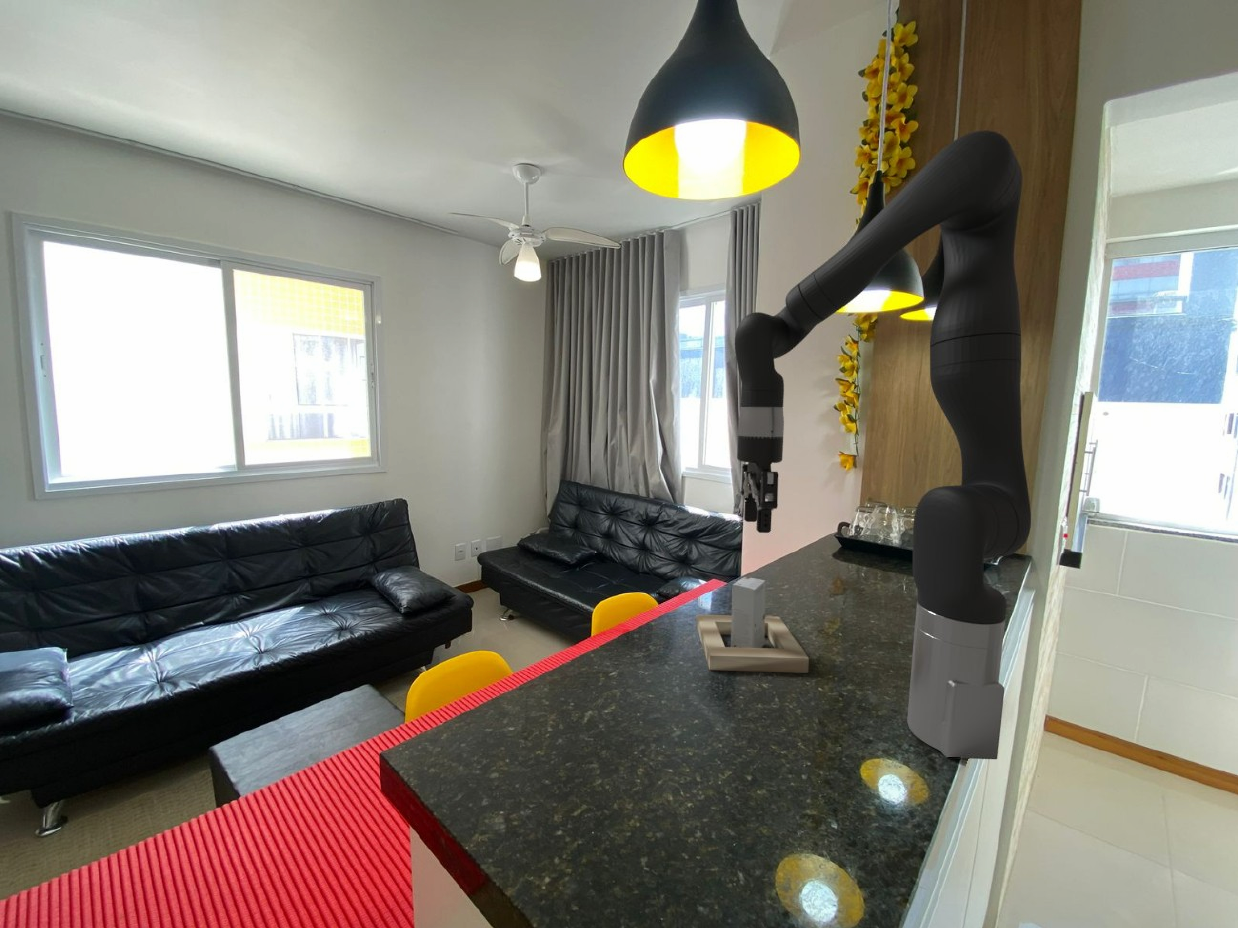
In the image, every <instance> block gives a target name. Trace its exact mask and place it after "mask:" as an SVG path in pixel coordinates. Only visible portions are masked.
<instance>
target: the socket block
mask: <svg viewBox="0 0 1238 928" xmlns="http://www.w3.org/2000/svg"><path fill="white" fill-rule="evenodd" d="M731 625H732V614H731V615H730V614H729V615H728V614H727V615H726V614H725V615H724V614H696V629H697V632H698V633H697V634H698V636H699V639H700V644H701V646H702V650H703V653H704V655H705V659H706V662H707V666H708V669H709V671H732V672H733V671H734V672H735V671H736V672H764V673H765V672H768V673H772V672H773V673H799V674H801V673H804V674H806V673H807V674H808V673H809V661H810V657H808V655H807V654H806V652H805V651H804V649H803V648H802V647H801V645H800V644H799V642H798V641H797V640H796V638H795V636H793V635H792V633H791V631H790V630H789V629H788V627H787V626H786V625H785V623H784V622H783V620H782V619H781V618H780V617H779V616H770V615H769V616H768V615H767V616H766V615H765V632H764V636H767V638H768V640H769V641H770V643H771V645H773V647H769V648H768V647H762V648H740V647H731V646H730V647H729V646H725V644H724V641H723V638H722V636H721V635H730V636H731Z"/></svg>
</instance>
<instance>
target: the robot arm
mask: <svg viewBox="0 0 1238 928" xmlns="http://www.w3.org/2000/svg"><path fill="white" fill-rule="evenodd" d="M1022 188H1023V173H1022V169H1021V166H1020V163H1019V161H1018V158H1017V157H1016V154H1015V151H1014V149H1013V147H1012V145H1011V143H1010V142H1009V140H1008V139H1007V138H1006V137H1005V136H1004V135H1002V134H1001V133H999V132H997V131H992V130H976V131H973V132H968V133H966V134H965V135H961V136H960V137H957V138H956V139H955V140H953V141H952V142H950V143H949V144H948V145H947V146H945V147H944V148H942V149H941V150H940V151H939V152H938V153H937V154H936V155H935V156H934V157H933V158H931V160H929V162H928V163H926V164H925V165H924V166H923V167H922V168H921V170H919V171H918V172H917V174H915V176H914V177H913V178H912V179H911V180H910V181H909V182H908V183H906V185H905V186H904V187H903V188H902V189H901V190H900V191H899V192H898V194H896V196H894V197H893V199H891V200H890V201H889V202H888V203H887V204H886V206H884V207H883V208H882V209H881V210H880V212H878V213H877V214H876V215H875V216H874V217H873V218H872V219H871V221H869V222H868V223H867V224H866V225H865V226H864V227H863V228H862V229H861V230H860V231H859V232H858V233H857V234H856V235H855V236H854V237H853V238H852V239H850V241H849V242H847V243H846V244H844V246H843V247H842V248H841V249H839V250H838V251H837V252H836V253H835V254H834V255H832V256H831V257H829V259H828V260H827V261H825V262H824V263H822V264H821V265H820V266H818V267H817V268H816V269H814V271H812V272H811V273H810V274H809V275H807V276H806V277H805V278H804V279H802V280H801V281H800V282H799V283H798V284H796V285H795V286H794V287H792V288H791V289H790V290H789V291H788V293H787V295H786V297H785V306H784V307H783V308H782V309H781V310H780V311H779V312H778V313H777V314H775V315H771V314H767V313H765V312H759V311H757V312H756V311H755V312H751V313H749V314H747V315H745V316H744V317H743V318H742V319H741V321H740V322H739V324H738V326H737V328H736V331H735V336H734V353H735V357H736V358H735V359H736V362H737V368H738V373H739V378H740V383H741V390H740V393H741V394H740V409H739V414H738V415H739V416H738V424H737V425H738V426H737V427H738V428H737V452H736V454H737V455H736V459H737V460H738V461H739V462H743V463H744V464H742V467H741V469H742V471H741V486H740V487H741V488H740V489H741V490H740V495H741V496H742V498H743V501H744V508H743V509H744V513H743V520H744V521H745V522H749V523H751V522H752V523H755V522H756V532H758V533H759V534H768V533H770V532H771V531H772V516H773V515H772V513H773V511H774V510H776V509H778V505H779V504H778V501H779V500H778V499H779V498H778V496H779V473H778V471H772V464H779V463H781V462H782V461H783V449H784V434H785V433H784V432H785V431H784V430H785V428H784V427H785V425H784V424H785V419H784V418H785V417H784V399H785V398H784V397H785V396H784V395H785V393H784V392H785V384H784V382H785V381H784V378H783V376H782V375H781V374H780V373H779V372H778V370H776V367H775V359H779V358H781V357H783V356H785V355H787V354H788V353H790V352H791V351H792V350H794V349H795V348H796V347H797V346H798V345H799V344H800V343H801V342H802V341H804V339H806V338H807V336H808V335H809V334H810V333H811V332H812V331H813V330H814V328H815V327H817V326H818V325H819V324H821V323H822V322H823V321H825V320H827V319H828V318H830V317H831V316H833V315H834V314H835V313H837V312H838V311H840V310H841V309H842V308H844V307H845V306H846V305H849V303H850V302H852V301H853V300H854V299H856V298H857V297H858V296H859V295H860V294H862V292H863V291H864V290H866V288H867V287H868V286H869V285H870V284H871V283H872V282H873V281H874V279H875V278H876V277H877V276H878V275H879V274H880V272H881V271H882V270H883V268H885V267H886V266H887V264H888V263H889V262H890V261H891V260H892V259H893V258H894V257H895V256H896V255H898V254H899V252H900V251H902V250H903V249H904V248H906V246H908V245H909V244H910V243H912V242H913V241H914V240H916V239H917V238H918V237H920V236H921V235H923V234H924V233H926V232H927V231H930V230H931V229H933V228H934V227H936V226H938V225H939V228H940V234H941V239H942V240H941V241H942V248H943V259H944V260H943V262H944V272H943V273H944V274H943V277H944V278H943V283H942V289H941V292H940V295H939V298H938V301H937V305H936V308H935V311H934V316H933V319H932V325H931V328H930V329H931V330H930V338H929V377H930V384H931V385H930V386H931V388H932V392H933V394H934V397H935V399H936V402H937V403H938V406H939V407H940V409H941V411H942V413H943V414H944V417H945V418H946V420H947V422H948V423H949V426H950V427H951V428H952V431H953V434H954V435H955V436H956V439H957V441H958V442H957V443H958V446H959V450H960V457H961V482H960V483H961V484H960V485H945V486H944V485H943V486H937V487H934V488H931V489H930V490H928V491H927V492H925V494H923V496H922V497H920V500H919V502H917V507H916V508H915V513H914V519H913V528H912V529H913V530H912V532H913V533H912V576H913V580H914V583H915V587H916V591H917V599H916V610H915V611H916V613H915V623H914V634H913V647H912V657H911V670H910V671H911V672H910V679H909V680H910V681H909V682H910V683H909V694H908V706H907V707H908V709H907V719H906V722H907V726H908V728H909V730H910V732H911V733H913V735H914V736H916V738H918V739H919V740H921V741H922V742H923V743H925V744H927V745H928V746H930V747H932V748H933V749H935V750H938V751H940V752H941V753H942V754H943V755H944V757H946V758H948V757H962V758H961V759H971V760H973V759H974V760H975V759H976V760H998V755H999V744H1000V736H1001V725H1002V718H1003V717H1002V715H1003V706H1004V699H1005V687H1004V686H1003V685H1002V684H1001V683H1000V674H1001V665H1002V664H1001V662H1002V655H1003V653H1002V652H1003V644H1004V643H1003V642H1004V635H1005V625H1006V616H1007V609H1008V608H1007V607H1008V606H1007V604H1008V602H1007V599H1006V597H1005V595H1004V594H1003V593H1002V592H1001V591H999V589H996V588H994V587H992V586H990V585H987V584H985V582H984V564H985V563H984V561H985V559H992V558H993V559H994V558H1000V557H1002V558H1003V557H1007V556H1010V555H1012V554H1015V553H1017V552H1018V551H1019V550H1020V549H1022V547H1023V546H1024V544H1026V542H1027V540H1028V538H1029V535H1030V532H1031V527H1032V513H1031V511H1032V509H1031V502H1030V501H1031V500H1030V495H1029V488H1028V480H1027V474H1026V468H1025V461H1024V451H1023V439H1022V438H1023V436H1022V435H1023V433H1022V404H1021V403H1022V398H1021V378H1022V327H1021V315H1020V314H1021V312H1020V311H1021V310H1020V301H1019V300H1020V299H1019V290H1018V283H1017V276H1016V270H1015V244H1016V236H1017V235H1016V234H1017V227H1018V217H1019V208H1020V204H1021V196H1022V190H1023V189H1022Z"/></svg>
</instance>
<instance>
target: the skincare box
mask: <svg viewBox="0 0 1238 928" xmlns="http://www.w3.org/2000/svg"><path fill="white" fill-rule="evenodd" d="M766 583H767V581H766V580H764V579H760V578H755V577H754V578H753V577H749V576H744V577H742V578H740V579H738V580H737V581H736V582H734V583H733V584H732V588H731V589H732V591H731V593H732V595H731V615H732V625H731V635H730V647H740V648H764V645H765V635H764V632H765V616H766V589H767V587H766V586H767V584H766Z"/></svg>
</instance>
